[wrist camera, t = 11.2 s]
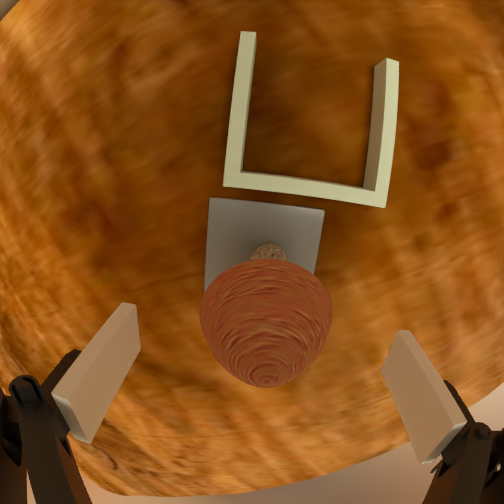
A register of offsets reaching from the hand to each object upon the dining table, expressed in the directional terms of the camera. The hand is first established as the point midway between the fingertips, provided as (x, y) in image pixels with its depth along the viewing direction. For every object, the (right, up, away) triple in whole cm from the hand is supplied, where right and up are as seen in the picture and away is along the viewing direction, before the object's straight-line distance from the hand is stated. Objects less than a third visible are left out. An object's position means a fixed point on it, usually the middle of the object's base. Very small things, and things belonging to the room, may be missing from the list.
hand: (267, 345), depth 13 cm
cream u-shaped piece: (+4, +16, +10) cm, 19 cm away
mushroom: (0, +4, +13) cm, 14 cm away
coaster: (0, +4, +14) cm, 14 cm away
